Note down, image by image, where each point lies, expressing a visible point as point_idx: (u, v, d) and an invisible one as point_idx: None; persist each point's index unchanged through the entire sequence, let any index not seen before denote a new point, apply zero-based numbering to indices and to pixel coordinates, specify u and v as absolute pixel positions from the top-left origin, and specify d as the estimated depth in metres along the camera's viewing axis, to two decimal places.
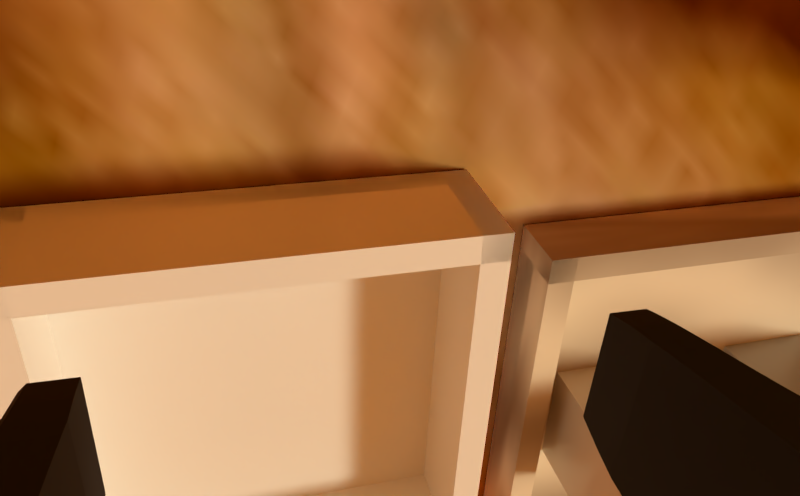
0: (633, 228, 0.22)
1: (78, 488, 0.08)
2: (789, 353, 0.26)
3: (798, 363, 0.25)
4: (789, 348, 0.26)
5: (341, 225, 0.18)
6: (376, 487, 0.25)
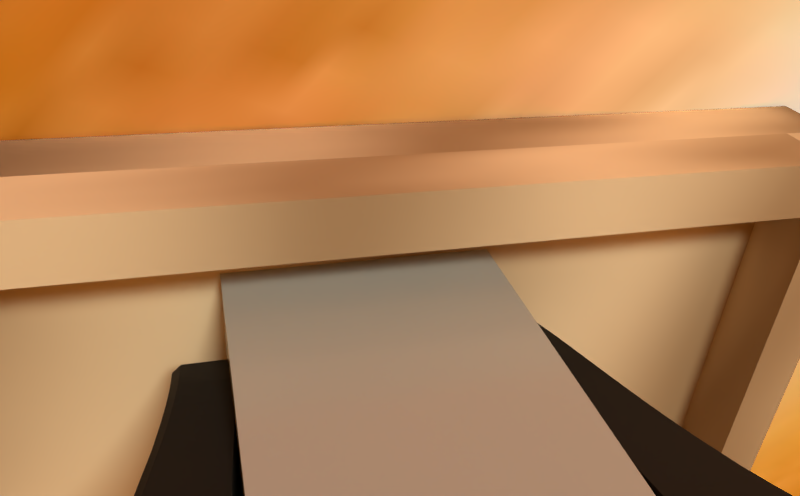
0: None
1: None
2: None
3: None
4: None
5: None
6: None
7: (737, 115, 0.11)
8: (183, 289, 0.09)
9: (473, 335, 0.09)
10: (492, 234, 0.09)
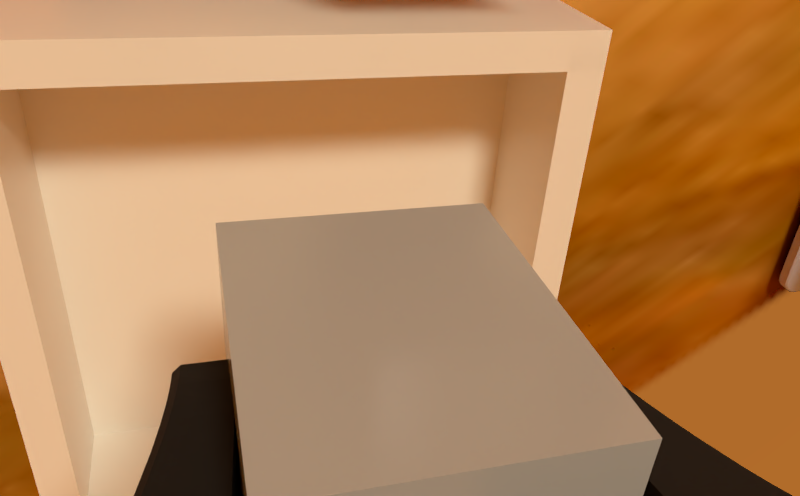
0: None
1: None
2: None
3: None
4: None
5: None
6: (506, 108, 0.17)
7: None
8: None
9: (468, 279, 0.09)
10: None
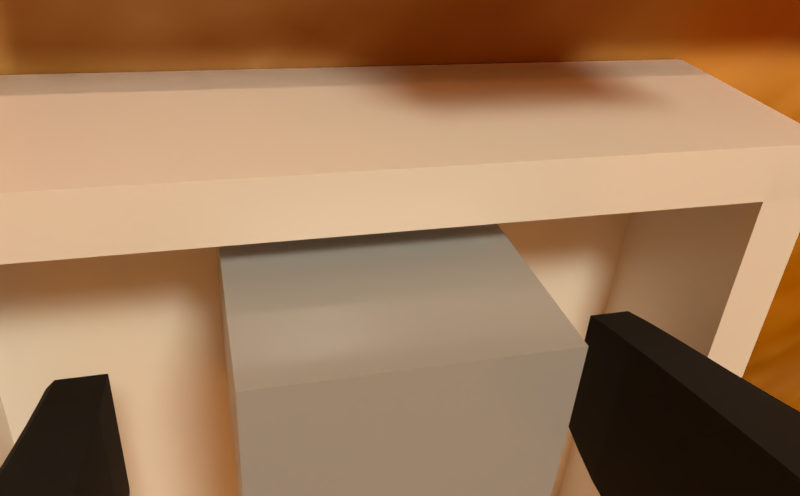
0: None
1: (108, 483, 0.08)
2: (221, 303, 0.11)
3: None
4: (219, 283, 0.11)
5: None
6: (633, 222, 0.13)
7: None
8: None
9: None
10: None
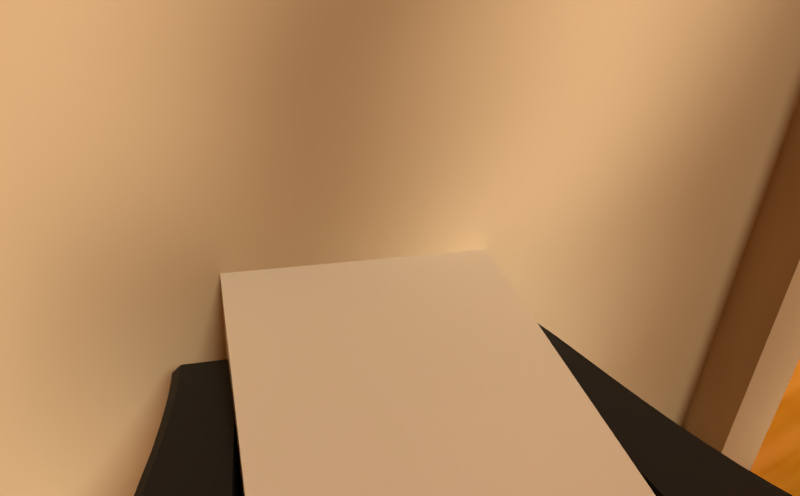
0: None
1: None
2: None
3: None
4: None
5: None
6: None
7: None
8: None
9: None
10: None
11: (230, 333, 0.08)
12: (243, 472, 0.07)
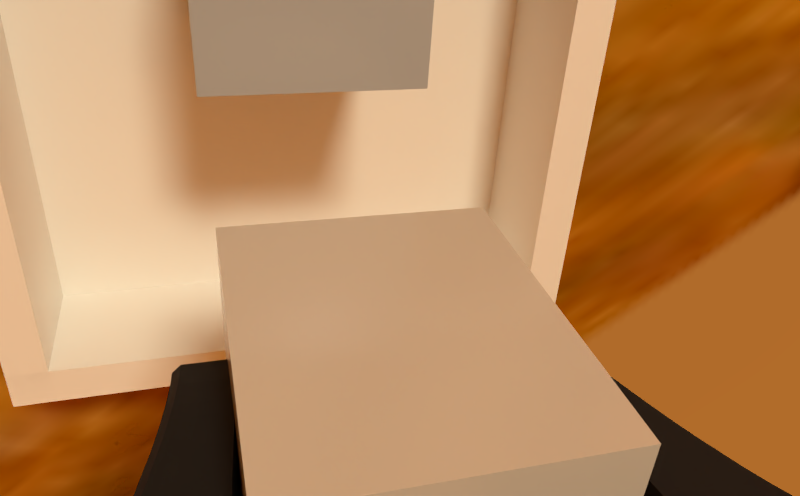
0: None
1: None
2: None
3: None
4: None
5: None
6: None
7: None
8: None
9: None
10: None
11: (225, 281, 0.08)
12: (237, 406, 0.07)
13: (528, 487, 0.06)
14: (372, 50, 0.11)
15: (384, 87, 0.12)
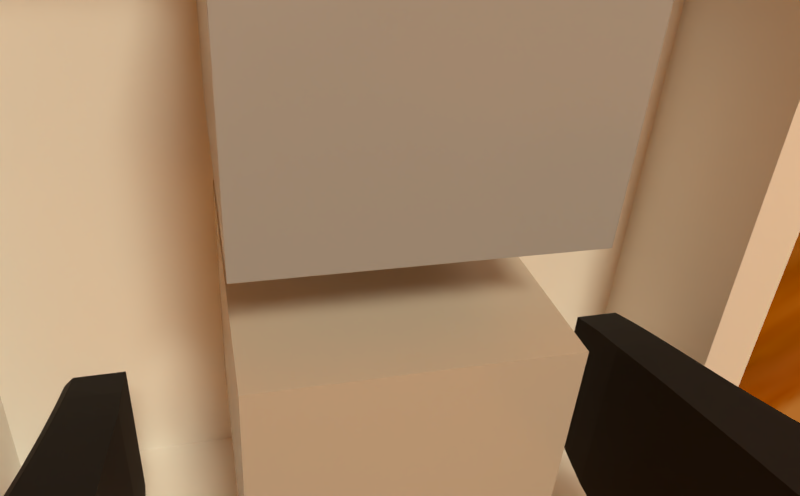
0: None
1: (126, 480, 0.08)
2: None
3: None
4: None
5: None
6: None
7: None
8: None
9: None
10: None
11: None
12: (229, 318, 0.08)
13: (475, 385, 0.08)
14: (533, 194, 0.07)
15: (545, 250, 0.07)
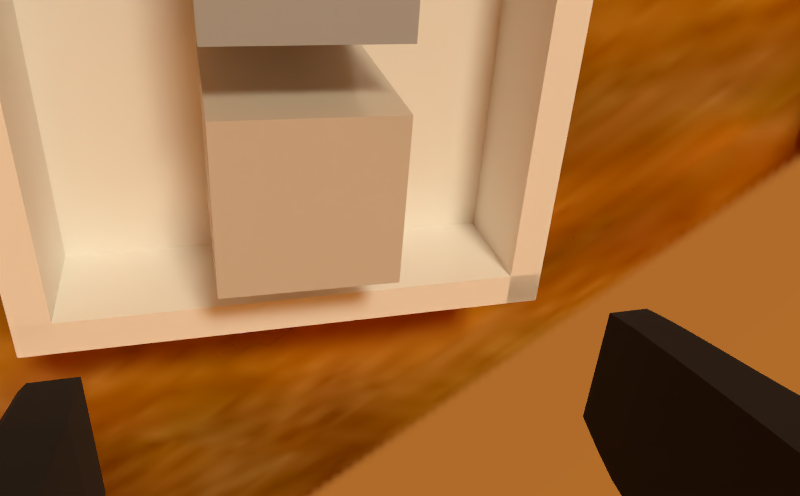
0: None
1: (78, 488, 0.08)
2: None
3: None
4: None
5: None
6: None
7: None
8: None
9: None
10: None
11: (200, 60, 0.15)
12: (202, 97, 0.13)
13: (344, 132, 0.13)
14: (365, 4, 0.12)
15: (376, 42, 0.12)
